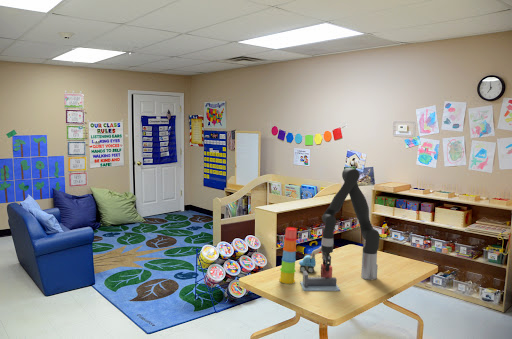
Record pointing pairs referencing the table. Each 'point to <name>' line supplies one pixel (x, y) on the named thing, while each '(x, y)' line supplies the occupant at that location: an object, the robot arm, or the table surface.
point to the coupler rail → (318, 280)
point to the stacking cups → (289, 256)
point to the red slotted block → (326, 273)
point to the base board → (320, 288)
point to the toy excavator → (309, 261)
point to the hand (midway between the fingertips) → (325, 268)
